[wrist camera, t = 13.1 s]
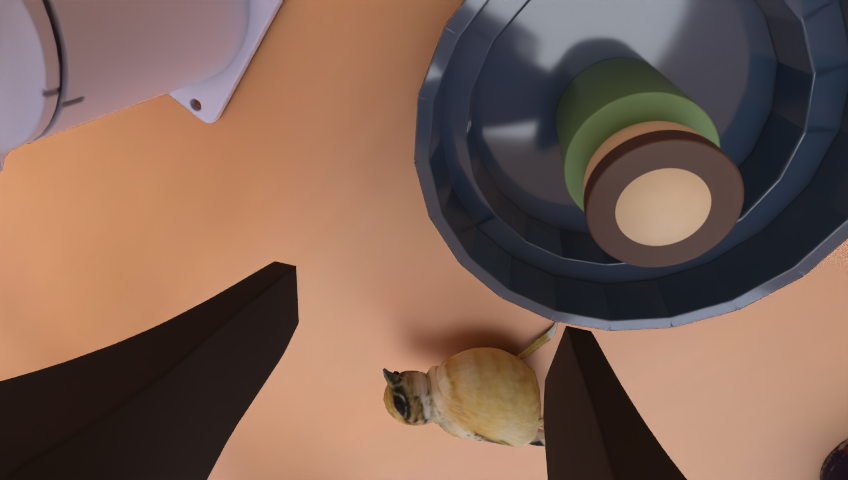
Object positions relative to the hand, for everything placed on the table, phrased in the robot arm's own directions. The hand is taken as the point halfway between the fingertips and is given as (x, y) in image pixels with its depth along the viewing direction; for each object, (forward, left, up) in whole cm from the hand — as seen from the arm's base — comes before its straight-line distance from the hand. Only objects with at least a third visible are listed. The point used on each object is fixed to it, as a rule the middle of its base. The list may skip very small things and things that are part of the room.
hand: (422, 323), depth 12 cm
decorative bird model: (+10, -8, -10) cm, 16 cm away
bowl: (+2, +6, -9) cm, 11 cm away
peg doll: (+2, +6, -9) cm, 11 cm away
